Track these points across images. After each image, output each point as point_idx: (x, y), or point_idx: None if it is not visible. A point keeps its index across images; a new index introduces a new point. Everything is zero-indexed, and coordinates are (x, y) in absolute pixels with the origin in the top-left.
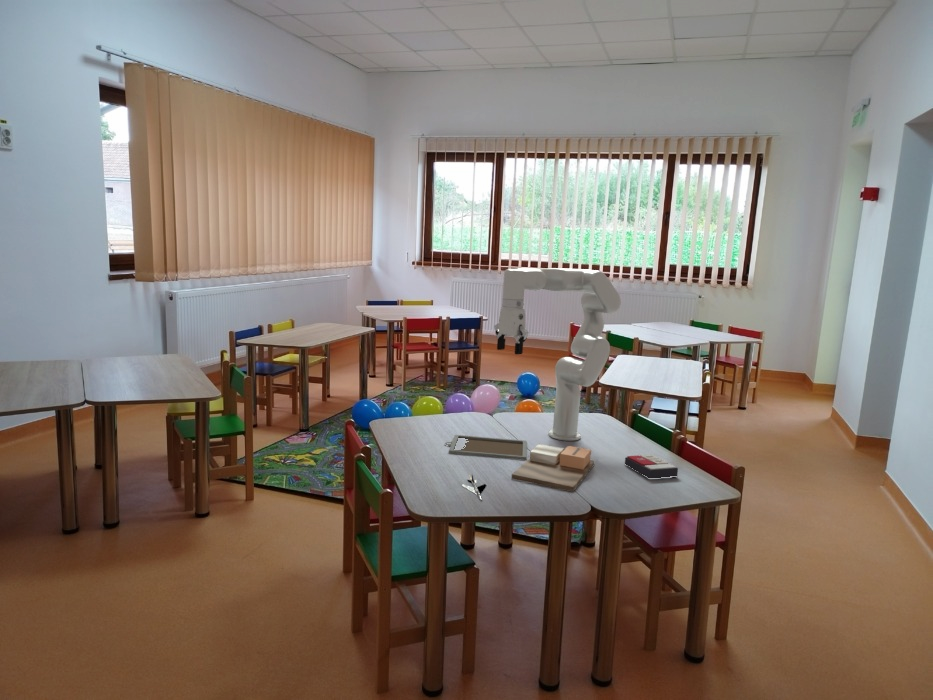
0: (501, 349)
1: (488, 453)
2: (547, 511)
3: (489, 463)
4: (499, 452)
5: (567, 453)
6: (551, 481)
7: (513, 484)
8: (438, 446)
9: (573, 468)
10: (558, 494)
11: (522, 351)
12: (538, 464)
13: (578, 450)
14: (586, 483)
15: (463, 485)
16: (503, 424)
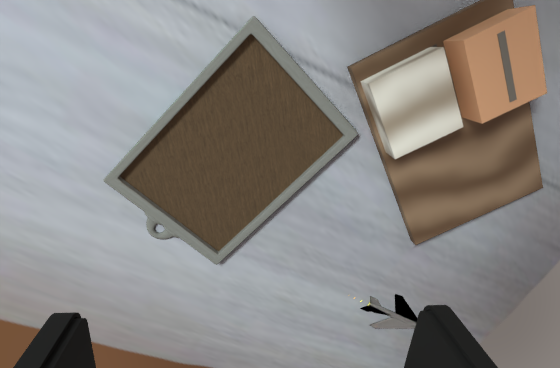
0: (85, 351)
1: (283, 200)
2: (535, 277)
3: (320, 224)
4: (276, 155)
5: (495, 104)
6: (495, 204)
7: (431, 254)
8: (161, 255)
9: None
10: (518, 216)
11: (461, 323)
12: (419, 155)
13: (508, 52)
14: (538, 123)
15: (376, 326)
16: None
